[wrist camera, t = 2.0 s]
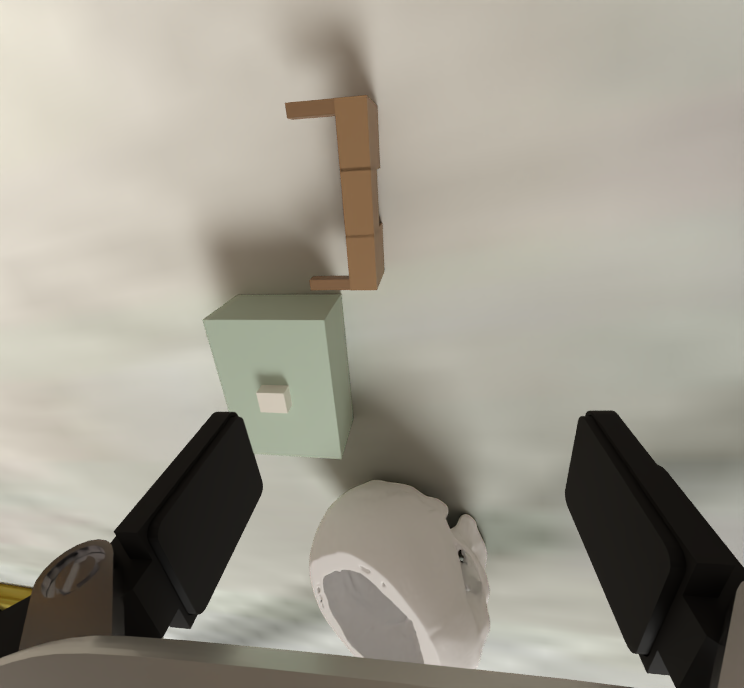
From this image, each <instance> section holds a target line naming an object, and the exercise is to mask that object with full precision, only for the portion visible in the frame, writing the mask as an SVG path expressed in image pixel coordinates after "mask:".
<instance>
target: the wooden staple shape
mask: <svg viewBox="0 0 744 688" xmlns="http://www.w3.org/2000/svg"><path fill="white" fill-rule="evenodd" d="M285 106H286V113H287V118H288V119H292V120H294V119H306V118H318V117H330V116H335V118H336V130H337V141H338V153H339V164H340V176H341V187H342V199H343V210H344V222H345V234H346V245H347V257H348V268H349V276H313V277H312V278H311V279H310V280H309V281H310V288H311V290H377V289H378V286H379V284H380V281H381V279H382V276H383V274H384V250H383V227H382V223H379V209H378V187H377V169H379V168H380V155H379V132H378V108H377V105H376V104H375V103H374V102H373V101H372V100H371V99H370V98H369V97H368V96H367V95H363V96H352V97H341V98H333V99H322V100H311V101H300V102H289V103H285Z"/></svg>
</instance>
